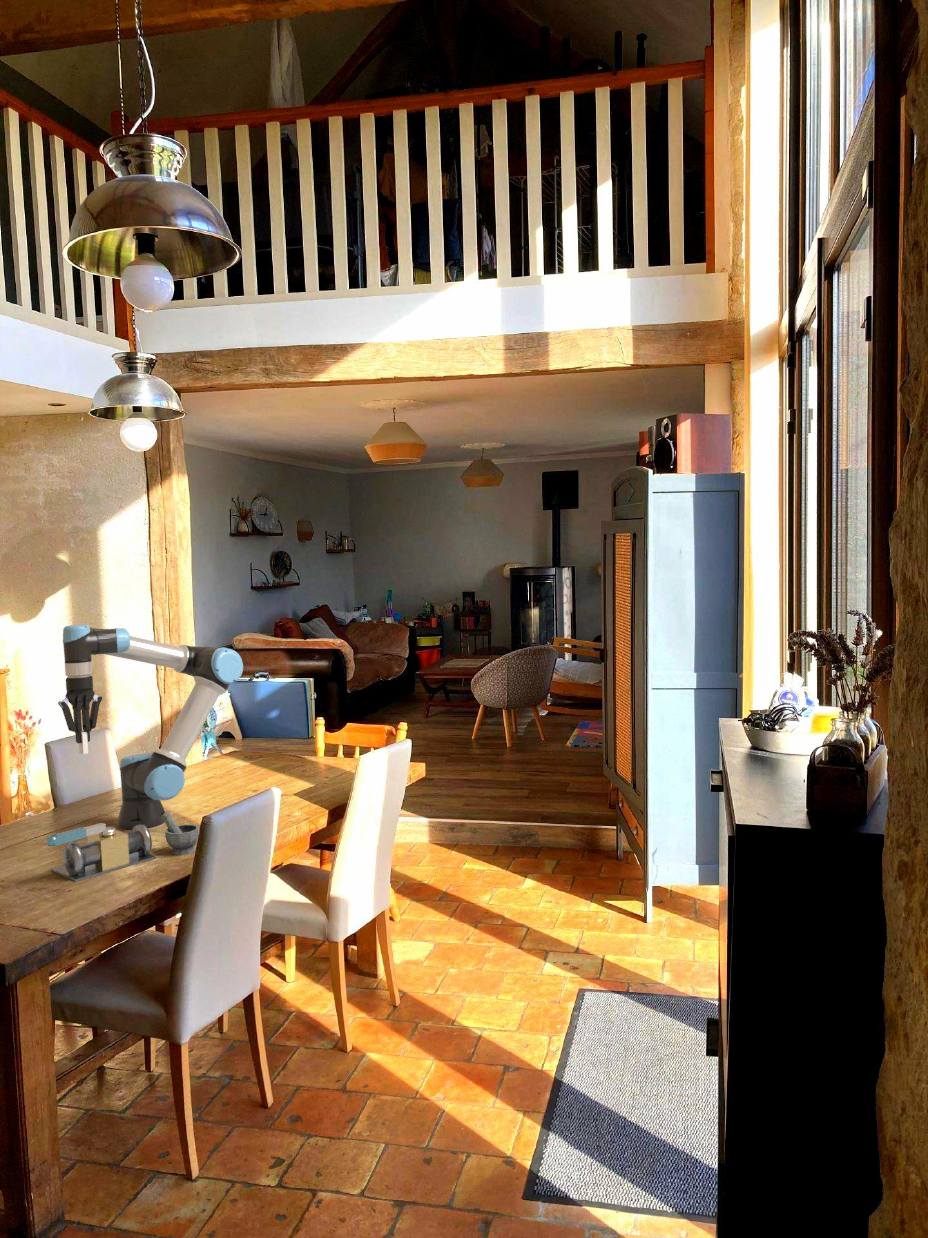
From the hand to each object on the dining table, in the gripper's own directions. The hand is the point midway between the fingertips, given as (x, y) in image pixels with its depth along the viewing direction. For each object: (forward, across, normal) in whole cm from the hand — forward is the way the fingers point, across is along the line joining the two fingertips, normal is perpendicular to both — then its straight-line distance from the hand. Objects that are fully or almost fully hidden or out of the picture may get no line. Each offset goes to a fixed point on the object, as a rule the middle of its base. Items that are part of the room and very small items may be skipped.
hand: (83, 753), depth 280 cm
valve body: (+29, +5, +19) cm, 35 cm away
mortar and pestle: (+30, -15, +27) cm, 43 cm away
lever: (+20, +13, +22) cm, 33 cm away
